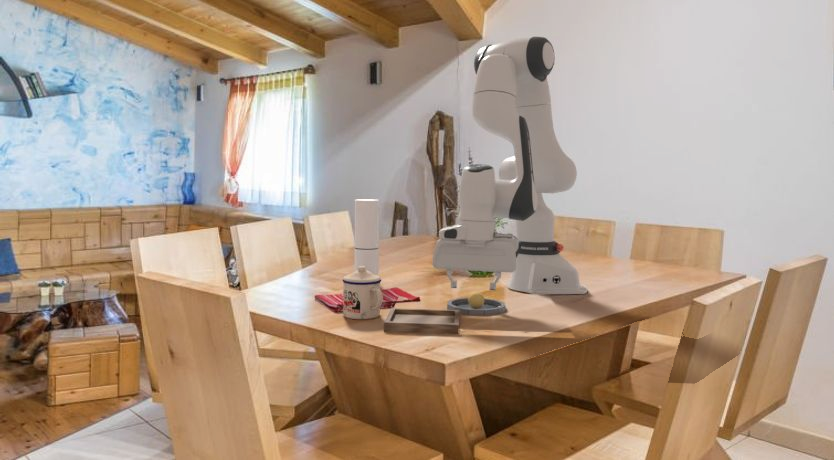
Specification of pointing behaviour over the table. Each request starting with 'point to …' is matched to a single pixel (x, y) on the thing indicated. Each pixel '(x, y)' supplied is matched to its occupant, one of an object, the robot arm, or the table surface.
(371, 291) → the teacup with lid
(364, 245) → the cylindrical container
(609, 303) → the table surface
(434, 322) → the tray
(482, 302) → the ball
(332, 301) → the dish towel
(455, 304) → the dish
